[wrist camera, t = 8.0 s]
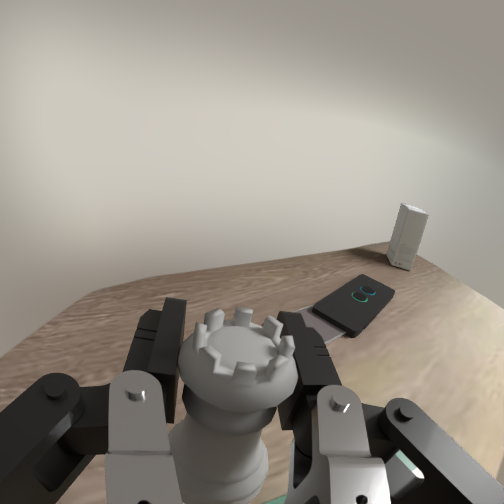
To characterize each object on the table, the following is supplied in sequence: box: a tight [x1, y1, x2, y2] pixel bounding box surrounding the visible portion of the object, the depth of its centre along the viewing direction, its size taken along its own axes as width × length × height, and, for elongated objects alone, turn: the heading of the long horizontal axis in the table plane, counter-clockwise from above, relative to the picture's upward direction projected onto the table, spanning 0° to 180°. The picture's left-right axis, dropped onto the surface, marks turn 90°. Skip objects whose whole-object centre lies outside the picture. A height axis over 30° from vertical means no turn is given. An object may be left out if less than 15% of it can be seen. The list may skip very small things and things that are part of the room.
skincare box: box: [386, 203, 428, 271], centre depth 70 cm, size 8×6×15 cm
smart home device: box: [312, 274, 395, 338], centre depth 50 cm, size 8×2×20 cm
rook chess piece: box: [168, 307, 299, 504], centre depth 9 cm, size 4×4×8 cm
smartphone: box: [275, 305, 346, 345], centre depth 43 cm, size 7×1×15 cm
